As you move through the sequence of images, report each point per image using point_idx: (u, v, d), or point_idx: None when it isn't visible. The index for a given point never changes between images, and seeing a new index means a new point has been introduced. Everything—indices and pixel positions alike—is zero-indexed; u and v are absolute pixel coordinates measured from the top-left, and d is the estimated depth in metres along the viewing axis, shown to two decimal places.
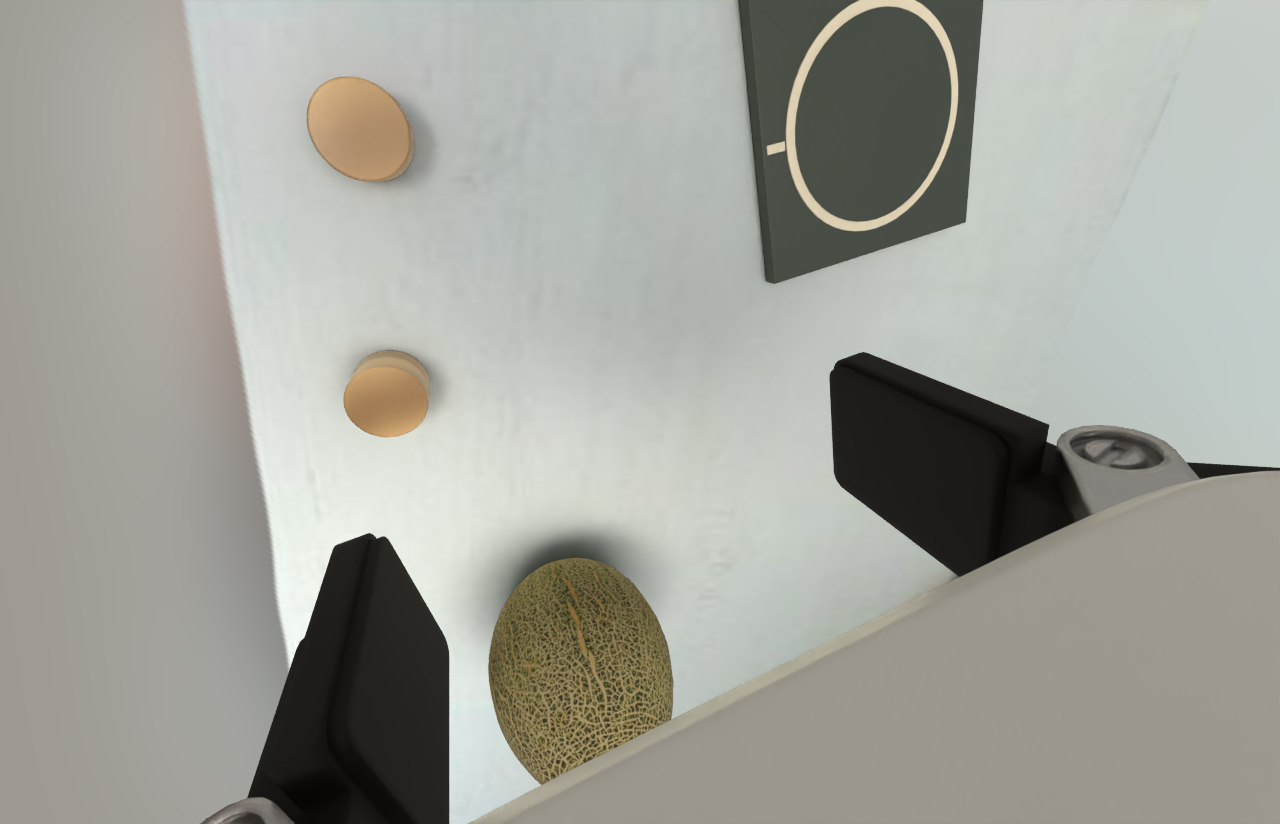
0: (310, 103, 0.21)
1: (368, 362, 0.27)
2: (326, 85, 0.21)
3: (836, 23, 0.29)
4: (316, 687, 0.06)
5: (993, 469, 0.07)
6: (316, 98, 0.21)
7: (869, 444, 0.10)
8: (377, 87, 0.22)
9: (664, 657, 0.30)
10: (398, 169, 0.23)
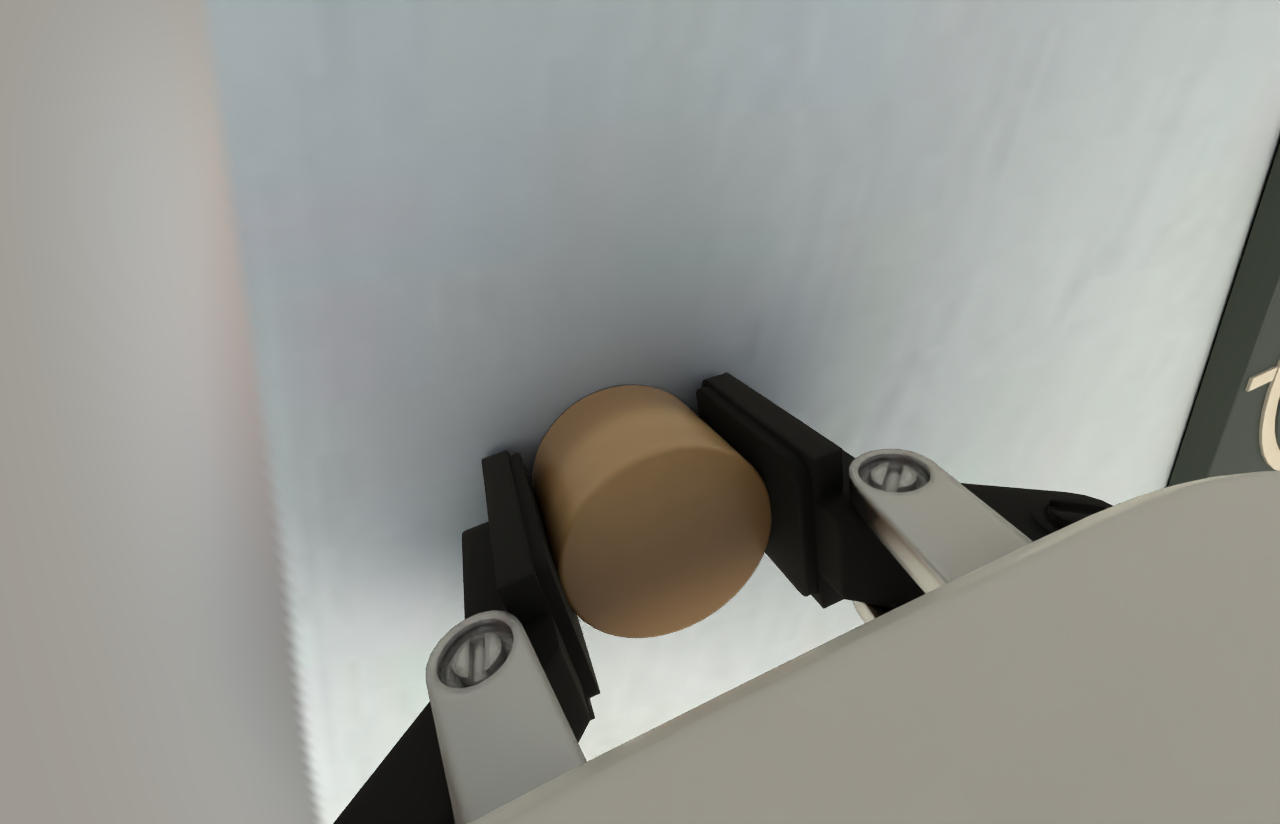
0: (573, 521, 0.08)
1: None
2: (619, 478, 0.08)
3: None
4: (515, 542, 0.07)
5: (797, 489, 0.08)
6: (590, 509, 0.08)
7: None
8: (729, 455, 0.09)
9: None
10: (730, 597, 0.10)
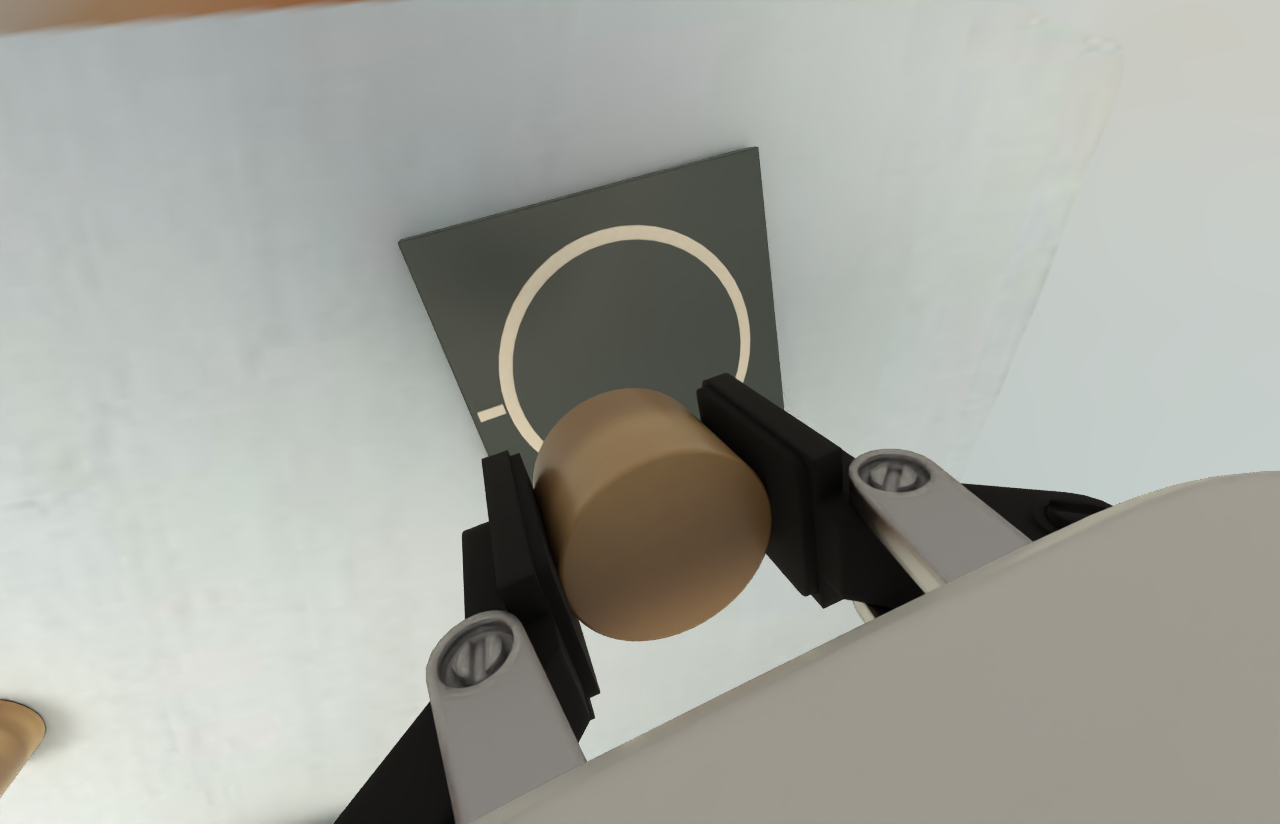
0: (573, 525, 0.08)
1: None
2: (619, 482, 0.08)
3: (548, 268, 0.22)
4: (515, 542, 0.07)
5: (797, 489, 0.08)
6: (590, 513, 0.08)
7: None
8: (729, 459, 0.09)
9: None
10: (730, 601, 0.10)
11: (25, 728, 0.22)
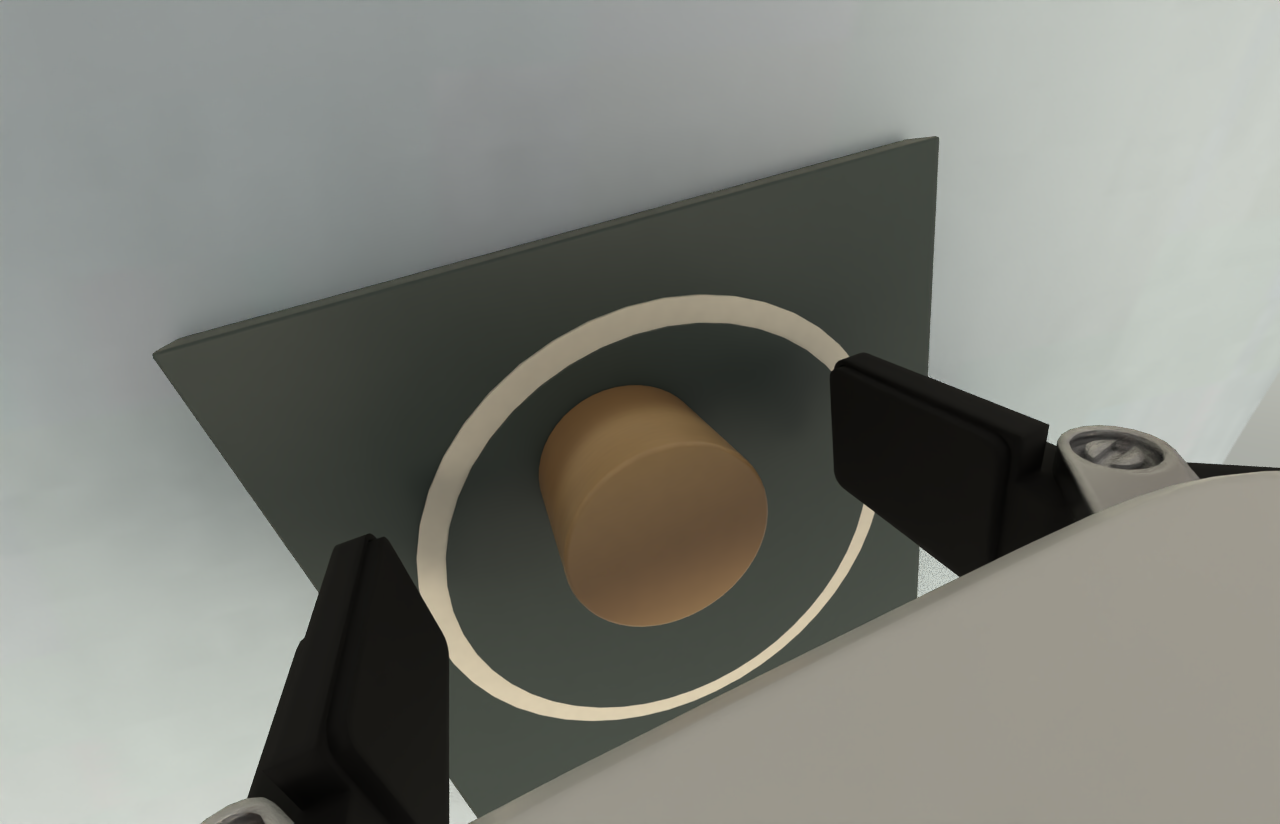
0: (578, 513, 0.08)
1: None
2: (622, 473, 0.08)
3: (516, 389, 0.10)
4: (316, 687, 0.06)
5: (993, 469, 0.07)
6: (594, 503, 0.08)
7: (869, 444, 0.10)
8: (726, 452, 0.09)
9: None
10: (728, 588, 0.10)
11: None
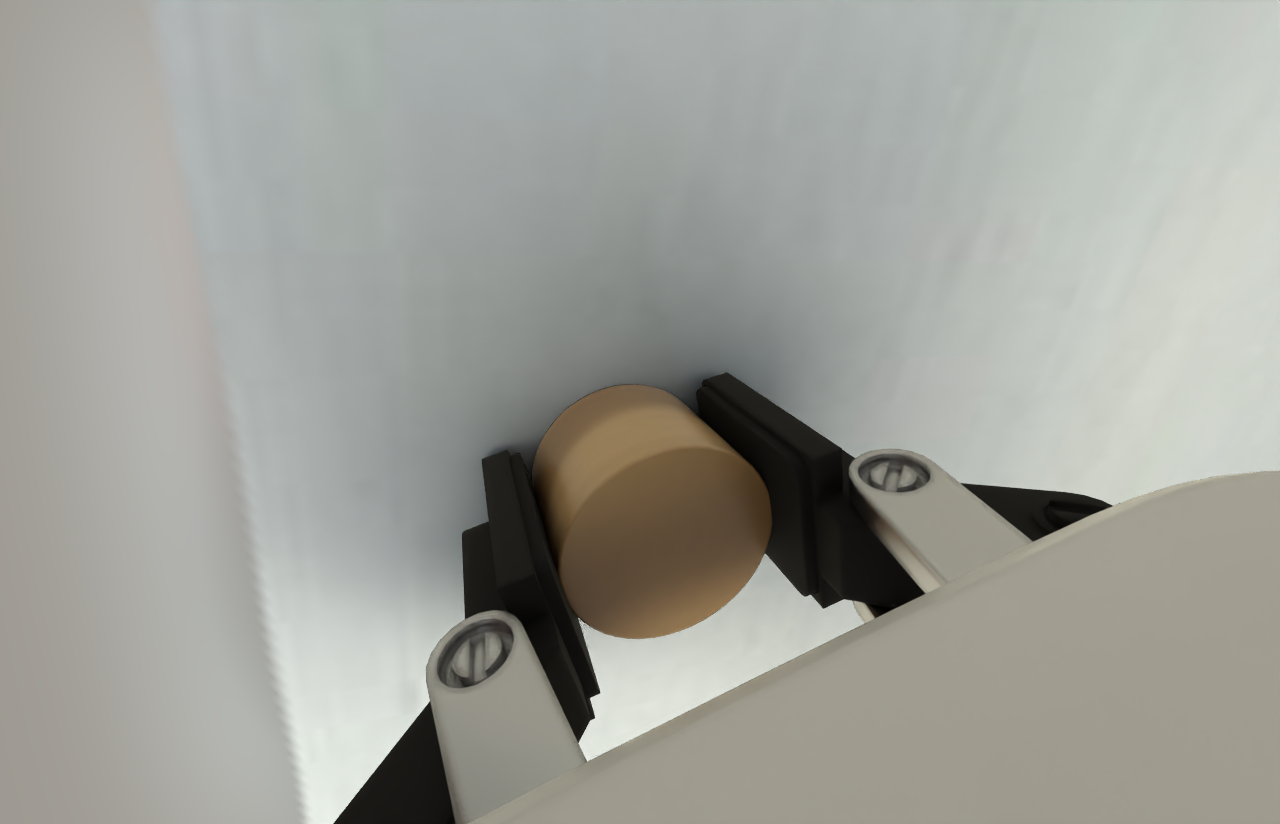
0: None
1: (612, 426, 0.09)
2: None
3: None
4: (515, 542, 0.07)
5: (797, 488, 0.08)
6: None
7: None
8: None
9: None
10: None
11: None
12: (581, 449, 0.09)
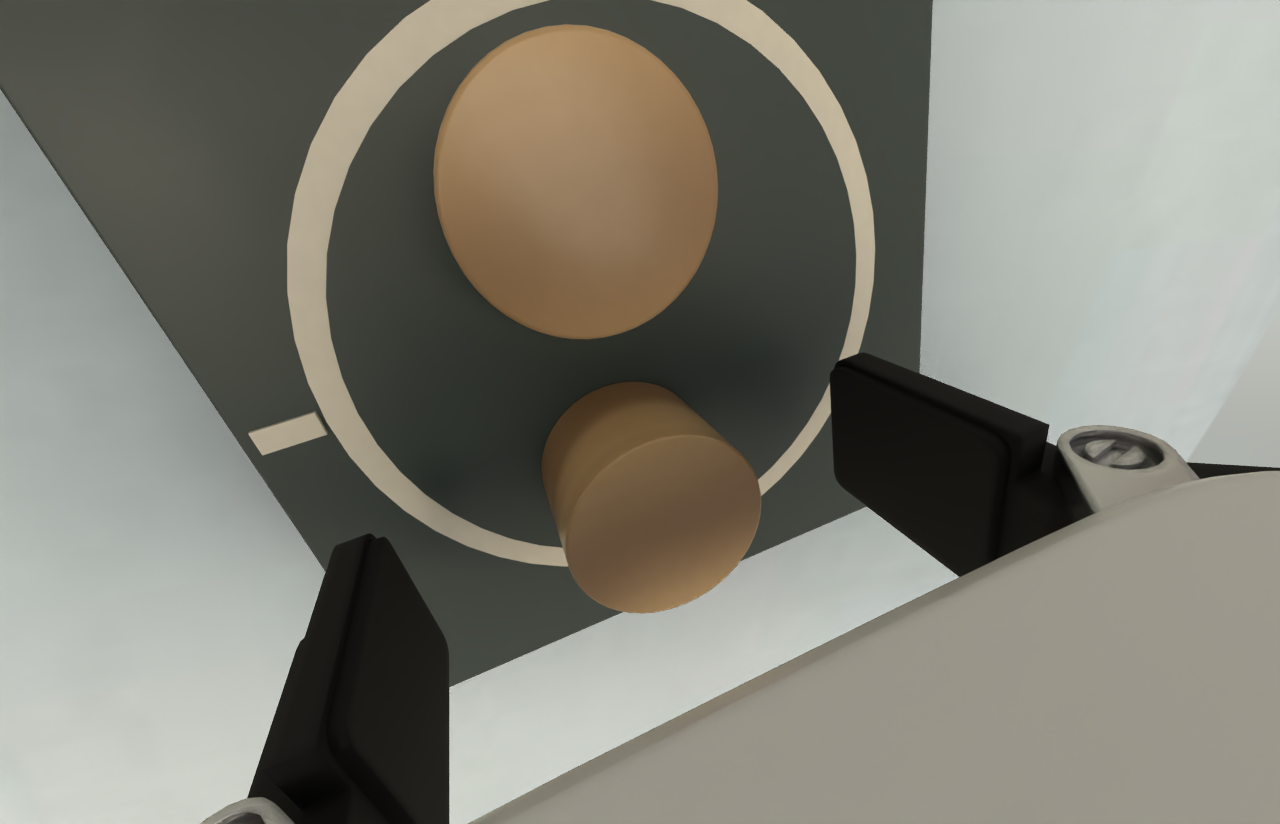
0: (449, 115, 0.06)
1: (615, 418, 0.10)
2: (506, 53, 0.06)
3: (403, 54, 0.08)
4: (316, 687, 0.06)
5: (993, 469, 0.07)
6: (470, 98, 0.06)
7: (869, 444, 0.10)
8: (656, 62, 0.07)
9: None
10: (670, 302, 0.08)
11: None
12: (587, 439, 0.10)
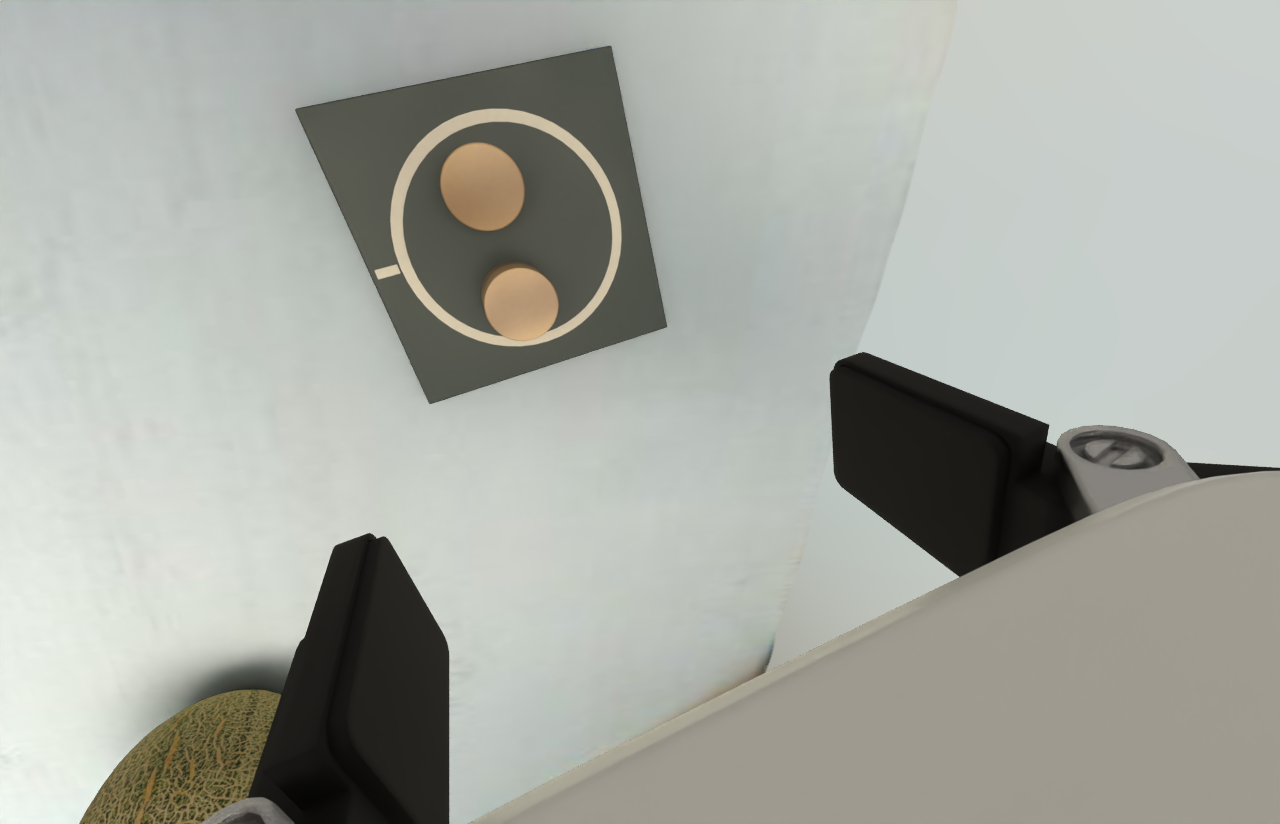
0: (444, 166, 0.24)
1: (503, 267, 0.28)
2: (458, 150, 0.24)
3: (429, 142, 0.26)
4: (316, 687, 0.06)
5: (993, 469, 0.07)
6: (449, 161, 0.24)
7: (869, 444, 0.10)
8: (500, 150, 0.25)
9: None
10: (512, 220, 0.26)
11: None
12: (493, 274, 0.28)
